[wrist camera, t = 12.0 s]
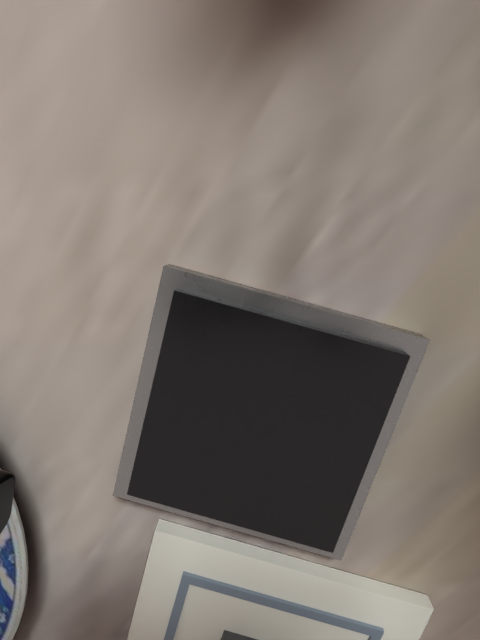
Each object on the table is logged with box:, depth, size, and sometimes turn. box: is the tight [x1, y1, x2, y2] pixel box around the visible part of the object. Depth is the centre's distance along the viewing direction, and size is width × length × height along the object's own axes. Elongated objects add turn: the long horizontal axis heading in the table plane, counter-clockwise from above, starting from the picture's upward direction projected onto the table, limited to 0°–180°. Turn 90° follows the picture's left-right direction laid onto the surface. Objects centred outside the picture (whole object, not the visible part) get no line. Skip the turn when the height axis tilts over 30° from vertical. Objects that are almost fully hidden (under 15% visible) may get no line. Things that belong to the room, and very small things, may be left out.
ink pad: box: [113, 264, 430, 560], centre depth 18 cm, size 12×12×2 cm
